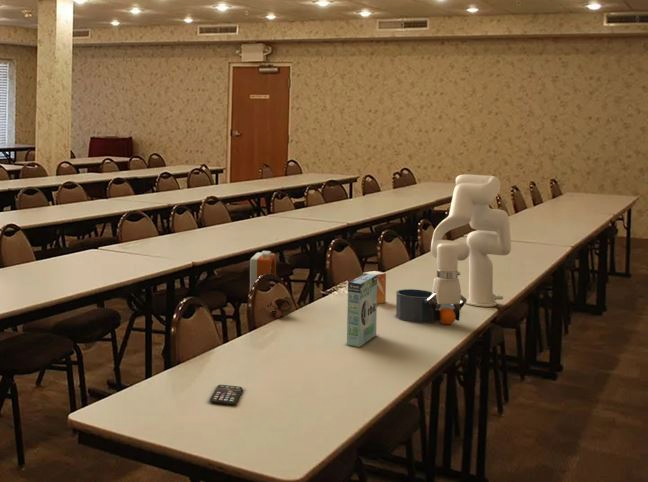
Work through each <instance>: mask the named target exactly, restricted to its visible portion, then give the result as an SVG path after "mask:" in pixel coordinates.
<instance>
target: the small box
mask: <svg viewBox="0 0 648 482" xmlns="http://www.w3.org/2000/svg"><path fill="white" fill-rule="evenodd" d="M365 273H367V274H375V275H377V305H378V304H384V303H385V304H386V302H387V301H386V297H387V296H386V295H387V294H386V293H387V291H386V289H387V286H386V285H387V273H386V272H383V271H377V270H373V271H366V272H363V273H362V275H363V274H365Z"/></svg>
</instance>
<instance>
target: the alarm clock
mask: <svg viewBox="0 0 648 482" xmlns="http://www.w3.org/2000/svg"><path fill="white" fill-rule="evenodd" d="M267 273H268V274H274V275H275V276H276V277H277V255H276V253H274V252H272V251H270V250H262V251H261V252H259V251H258V252H256V253H255V254H253V256H252V257H251V258H250V260H249V292H250V291H251V289H252V287H253V285H254V283H255V281H256V280H257V279H258V277H259V276H260V275H262V274H267Z"/></svg>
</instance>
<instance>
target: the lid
mask: <svg viewBox="0 0 648 482" xmlns="http://www.w3.org/2000/svg"><path fill="white" fill-rule="evenodd" d="M443 308H449V309H451V310H453V309H455V307H454V306H453V304H441V306H440V308H439V311H440V310H441V309H443Z"/></svg>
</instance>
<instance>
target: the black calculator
mask: <svg viewBox="0 0 648 482" xmlns="http://www.w3.org/2000/svg"><path fill="white" fill-rule="evenodd" d="M242 392H243V387H242V386H238V385H237V386H236V385H228V384H218V385H217V386H216V388H215V389H214V392H213V393H212V395H211V396H210V399H209V402H210V403H212V404H222V405H231V406H235V405H236V403H237V401H238V399H239V397H240V395H241V393H242Z"/></svg>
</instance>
